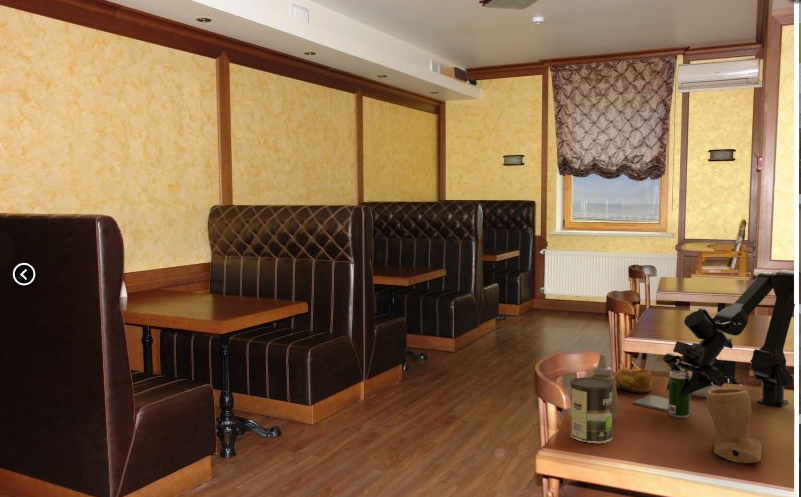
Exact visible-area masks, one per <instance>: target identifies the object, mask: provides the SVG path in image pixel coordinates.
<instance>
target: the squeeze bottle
mask: <svg viewBox="0 0 801 497" xmlns="http://www.w3.org/2000/svg"><path fill="white" fill-rule="evenodd" d="M598 359H599V360H598V363H597V365H595V366H594V367H593V374H592V375H590V377H589V378H600V379H604V380H608V381H610V382H612V384H613V387H612V422H613V421H614V420H615V418H616V415H617V413H618V409H619V405H618V395H617V394H618V393H617V389H616V382H615V377H614V376H615V375H612V370H613V369H612V367H609V366H608V362H607V358H606V354H605V353H604V354H603V353H602V354H601V353H600V356H599V358H598Z"/></svg>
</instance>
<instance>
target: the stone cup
mask: <svg viewBox="0 0 801 497" xmlns="http://www.w3.org/2000/svg"><path fill="white" fill-rule="evenodd" d="M750 396H751V395H750V394H749V392H748V391H747V390H746V389H744V388H738V387H731V388H728V387H727V388H726V387H723V388H722V387H719V388H718V387H717V388H715V389H712V390H709V391H708V392H707V394H706V397H705V398H706V405H707V410H708V412H709V415H710V417H711V420H712V423H713V425H714V428H715V430H716V438H715V440H714V442H713V452H714V453H715V454H716V455H718V456H719V457H721V458H724V459H726V460H727V461H731V462H733V463H738V464H750V463H752V464H753V463H758V462H759V461H761V458H762V444H761V441H759V440H758V439H757V438H752V437H750V424H751V418H752V402H751V397H750Z"/></svg>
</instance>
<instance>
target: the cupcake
mask: <svg viewBox="0 0 801 497" xmlns="http://www.w3.org/2000/svg"><path fill="white" fill-rule="evenodd" d="M687 372H688V373H689V376H690V379H691V378H692V372H691V371H687ZM711 384H712V386H708V387H705V388H703V389H700V390H697V391H695V392H693V393H691V394H690V395H691V396H693V397H698V398H707V397H706V394H707V392H708V391H709V390H712V389H716V388H717V387H716V385H714V384H713V382H711Z"/></svg>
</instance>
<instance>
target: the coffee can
mask: <svg viewBox="0 0 801 497" xmlns="http://www.w3.org/2000/svg"><path fill="white" fill-rule="evenodd" d="M569 384H570V438H571V439H573V438H574V439H576V440H579V441H583V442H588V443H587V444H589V443H595V444H594V445H603V444H606V443H607V442H608V443H610V442H611V441H612V440H613V421H612V387H613V384H612V382H610V381H608V380H604V379H600V378H590V377H577V378H573V379H571V380H570V381H569ZM574 439H573V440H574ZM576 440H575V441H576ZM579 441H578V442H579ZM583 442H582V443H583ZM596 443H597V444H596ZM602 443H603V444H602ZM608 443H607V444H608Z"/></svg>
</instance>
